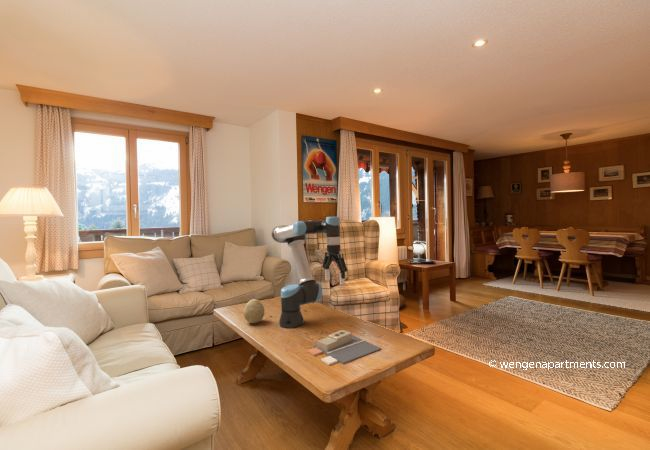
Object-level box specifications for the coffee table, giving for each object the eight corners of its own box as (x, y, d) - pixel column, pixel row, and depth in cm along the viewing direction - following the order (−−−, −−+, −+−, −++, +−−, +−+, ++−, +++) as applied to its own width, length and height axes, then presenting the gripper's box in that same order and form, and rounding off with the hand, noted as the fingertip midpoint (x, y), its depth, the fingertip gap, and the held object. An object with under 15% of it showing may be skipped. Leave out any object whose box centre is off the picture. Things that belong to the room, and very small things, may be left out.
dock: (304, 349, 158) (304, 347, 158) (349, 335, 175) (349, 333, 175) (332, 367, 139) (332, 365, 139) (381, 349, 156) (381, 347, 156)
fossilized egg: (260, 318, 209) (259, 295, 209) (268, 323, 199) (267, 299, 198) (241, 322, 202) (240, 299, 202) (248, 328, 192) (247, 303, 191)
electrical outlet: (317, 339, 159) (342, 329, 172) (317, 347, 159) (342, 336, 172) (327, 343, 154) (352, 332, 166) (327, 351, 154) (352, 340, 166)
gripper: (315, 243, 185) (316, 279, 186) (342, 246, 165) (343, 287, 165) (326, 242, 189) (327, 278, 190) (353, 245, 169) (354, 284, 170)
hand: (334, 282), depth 178 cm, fingers open, 13 cm apart
